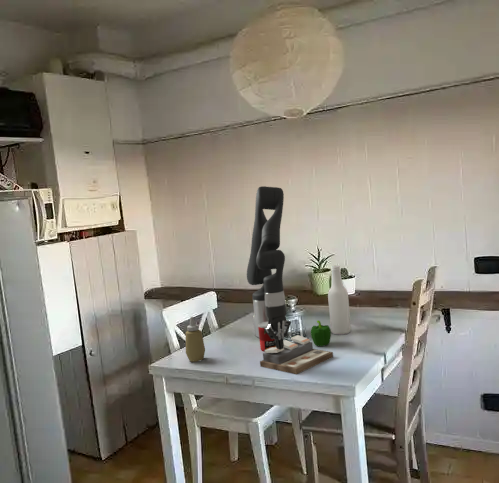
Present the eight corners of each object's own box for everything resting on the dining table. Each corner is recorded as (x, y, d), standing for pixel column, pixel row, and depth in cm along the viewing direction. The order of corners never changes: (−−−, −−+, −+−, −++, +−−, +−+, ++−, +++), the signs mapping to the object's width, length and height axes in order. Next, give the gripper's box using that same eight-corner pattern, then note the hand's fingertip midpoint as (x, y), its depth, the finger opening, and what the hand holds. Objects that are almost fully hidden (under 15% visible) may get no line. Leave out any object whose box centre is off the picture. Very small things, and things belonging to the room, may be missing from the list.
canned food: (266, 353, 233) (263, 327, 232) (257, 349, 240) (254, 324, 239) (282, 349, 237) (279, 323, 235) (272, 345, 244) (270, 320, 243)
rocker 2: (278, 346, 222) (278, 342, 221) (285, 343, 224) (285, 339, 224) (290, 351, 217) (291, 347, 217) (297, 348, 220) (297, 344, 220)
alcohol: (345, 328, 259) (339, 263, 256) (354, 332, 251) (349, 265, 248) (327, 331, 256) (322, 266, 253) (336, 336, 248) (331, 268, 245)
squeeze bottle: (198, 363, 228) (193, 320, 226) (182, 362, 233) (177, 319, 231) (210, 357, 235) (205, 315, 233) (194, 356, 239) (190, 314, 238)
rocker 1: (265, 354, 217) (264, 350, 217) (272, 351, 219) (271, 347, 219) (277, 353, 212) (276, 349, 212) (284, 351, 215) (283, 346, 215)
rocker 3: (291, 341, 227) (291, 337, 226) (297, 338, 230) (297, 334, 229) (303, 345, 222) (303, 342, 222) (309, 343, 225) (310, 339, 225)
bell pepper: (331, 347, 232) (329, 323, 231) (311, 348, 234) (309, 324, 233) (332, 341, 241) (330, 318, 240) (313, 342, 242) (310, 319, 241)
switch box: (260, 366, 217) (259, 353, 217) (297, 350, 233) (296, 338, 232) (296, 374, 204) (295, 360, 204) (333, 357, 220) (332, 344, 219)
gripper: (279, 299, 219) (284, 343, 221) (255, 306, 210) (260, 352, 211) (294, 300, 214) (299, 345, 215) (270, 308, 205) (275, 354, 206)
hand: (280, 348), depth 213 cm, fingers closed
